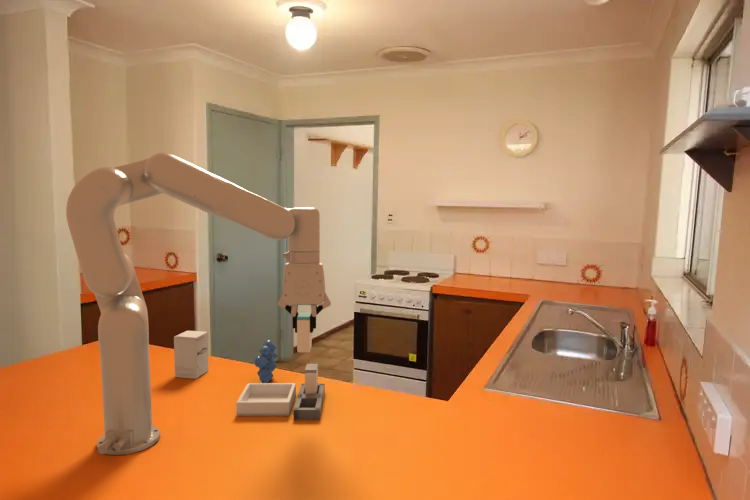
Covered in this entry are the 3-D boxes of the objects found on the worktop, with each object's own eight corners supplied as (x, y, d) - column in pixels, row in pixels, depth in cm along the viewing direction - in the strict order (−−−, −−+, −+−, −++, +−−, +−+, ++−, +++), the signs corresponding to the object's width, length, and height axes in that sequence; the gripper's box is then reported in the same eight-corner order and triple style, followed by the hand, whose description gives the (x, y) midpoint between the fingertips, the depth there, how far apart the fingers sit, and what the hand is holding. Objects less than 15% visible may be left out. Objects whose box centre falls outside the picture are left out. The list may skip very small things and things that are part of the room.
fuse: (316, 402, 137) (316, 370, 136) (305, 402, 137) (304, 370, 136) (318, 394, 142) (317, 363, 141) (307, 394, 142) (306, 363, 141)
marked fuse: (309, 352, 127) (309, 317, 126) (297, 352, 127) (297, 316, 126) (311, 346, 132) (311, 312, 131) (299, 346, 132) (299, 312, 131)
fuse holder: (319, 419, 127) (319, 409, 126) (293, 419, 126) (293, 409, 126) (324, 392, 144) (324, 383, 144) (301, 392, 144) (301, 383, 143)
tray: (289, 415, 129) (289, 402, 128) (236, 416, 128) (236, 402, 128) (295, 395, 141) (295, 383, 141) (248, 395, 141) (247, 383, 141)
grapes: (259, 373, 158) (259, 335, 157) (281, 374, 157) (281, 336, 156) (246, 387, 147) (245, 346, 145) (269, 389, 146) (269, 347, 145)
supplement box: (196, 379, 153) (195, 337, 152) (174, 377, 155) (172, 336, 153) (209, 371, 160) (208, 331, 159) (187, 369, 162) (186, 329, 160)
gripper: (267, 259, 123) (268, 335, 125) (336, 260, 123) (336, 335, 125) (273, 255, 130) (274, 327, 132) (338, 256, 131) (338, 327, 133)
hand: (304, 330), depth 129 cm, fingers closed on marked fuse, 3 cm apart
